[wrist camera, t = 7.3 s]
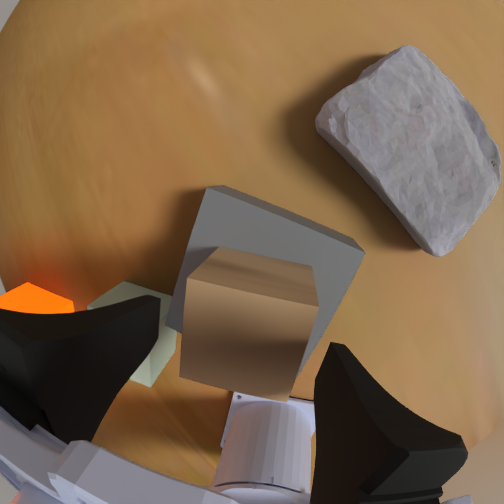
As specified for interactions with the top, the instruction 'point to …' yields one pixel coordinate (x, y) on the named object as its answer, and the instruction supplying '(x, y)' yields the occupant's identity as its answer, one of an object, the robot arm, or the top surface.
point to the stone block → (415, 146)
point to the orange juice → (35, 301)
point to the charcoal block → (269, 249)
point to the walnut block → (247, 323)
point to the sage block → (167, 335)
